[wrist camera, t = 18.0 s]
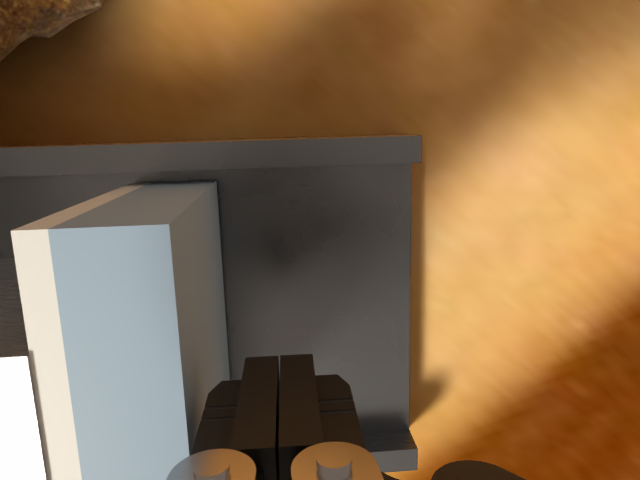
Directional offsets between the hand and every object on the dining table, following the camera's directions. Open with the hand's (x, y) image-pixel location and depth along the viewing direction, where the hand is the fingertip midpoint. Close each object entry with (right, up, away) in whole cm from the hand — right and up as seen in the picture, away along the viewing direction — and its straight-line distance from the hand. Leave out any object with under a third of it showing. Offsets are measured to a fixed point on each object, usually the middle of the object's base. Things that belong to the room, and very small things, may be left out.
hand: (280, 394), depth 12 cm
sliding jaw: (-3, +1, +6) cm, 7 cm away
